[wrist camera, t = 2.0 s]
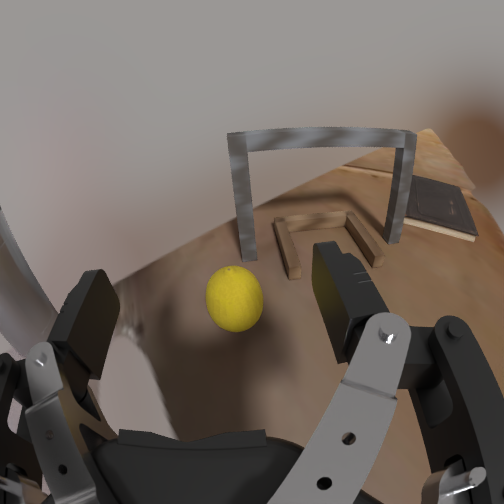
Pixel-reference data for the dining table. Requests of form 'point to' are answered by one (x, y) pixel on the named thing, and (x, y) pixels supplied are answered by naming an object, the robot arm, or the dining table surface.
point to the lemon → (234, 298)
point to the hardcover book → (439, 209)
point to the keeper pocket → (283, 225)
